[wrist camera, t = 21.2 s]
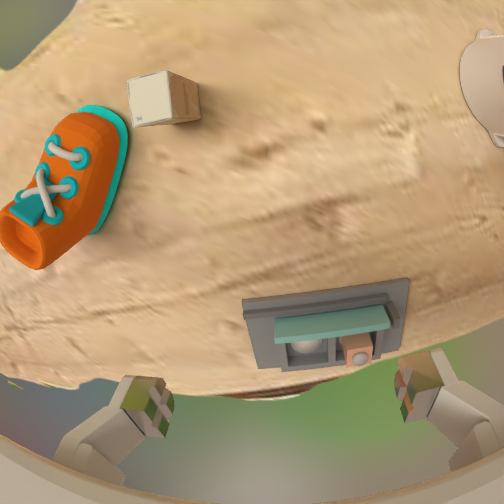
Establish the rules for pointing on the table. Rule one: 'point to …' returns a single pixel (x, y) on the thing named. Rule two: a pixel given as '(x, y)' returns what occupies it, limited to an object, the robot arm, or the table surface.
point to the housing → (317, 302)
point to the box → (162, 99)
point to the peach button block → (357, 349)
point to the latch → (330, 324)
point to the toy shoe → (67, 188)
